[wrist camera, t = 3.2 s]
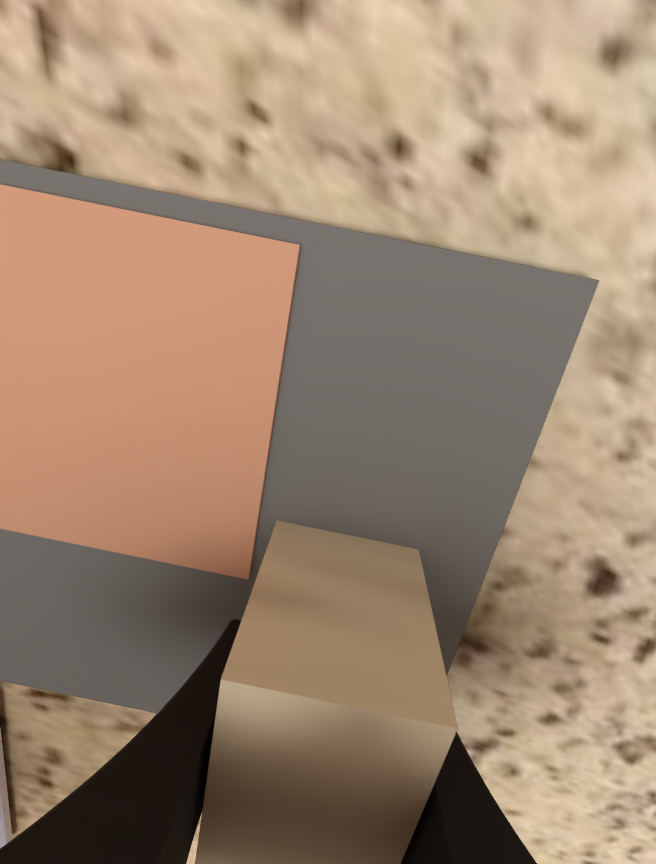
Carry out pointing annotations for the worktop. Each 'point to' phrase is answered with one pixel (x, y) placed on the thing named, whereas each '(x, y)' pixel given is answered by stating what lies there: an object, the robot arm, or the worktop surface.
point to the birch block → (327, 708)
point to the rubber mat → (241, 417)
